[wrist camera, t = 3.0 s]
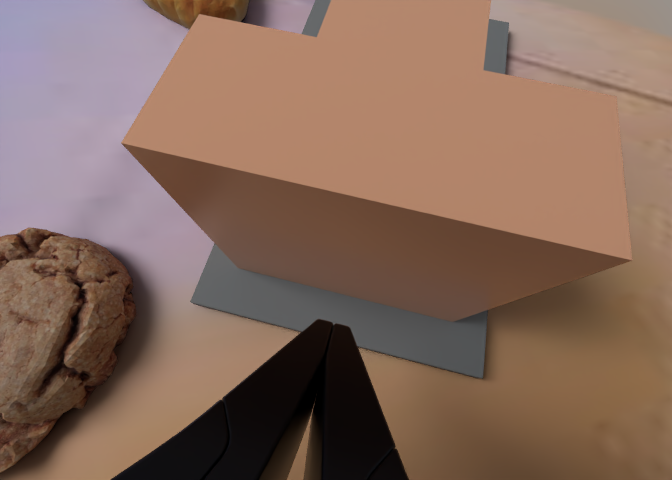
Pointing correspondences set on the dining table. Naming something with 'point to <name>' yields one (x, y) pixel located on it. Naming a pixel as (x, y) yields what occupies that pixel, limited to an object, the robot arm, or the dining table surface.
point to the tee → (387, 158)
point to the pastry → (199, 9)
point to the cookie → (55, 331)
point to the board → (360, 315)
